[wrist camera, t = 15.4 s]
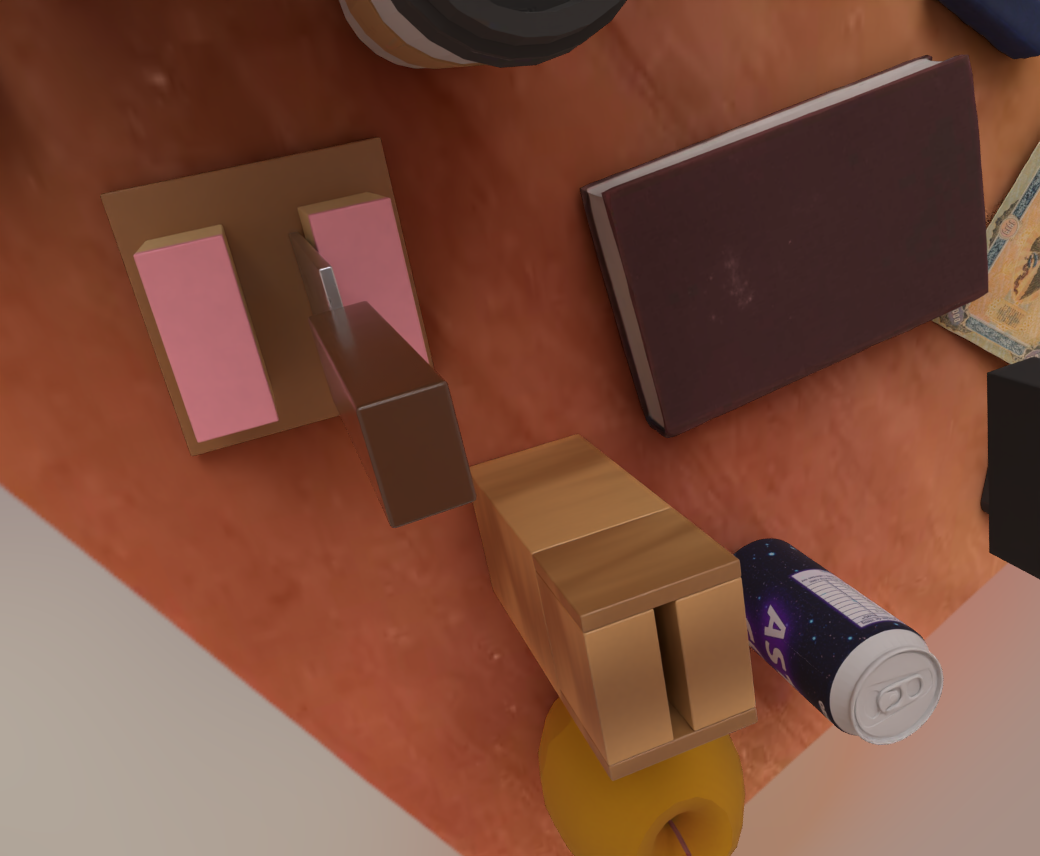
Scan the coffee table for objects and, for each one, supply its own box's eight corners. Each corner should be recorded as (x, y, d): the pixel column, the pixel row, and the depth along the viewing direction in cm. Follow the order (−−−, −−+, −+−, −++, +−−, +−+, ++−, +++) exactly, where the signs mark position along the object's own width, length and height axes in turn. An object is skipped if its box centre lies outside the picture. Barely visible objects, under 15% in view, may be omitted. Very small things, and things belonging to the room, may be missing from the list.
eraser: (1065, 16, 43) (976, -63, 40) (1042, 60, 43) (951, -16, 41) (1028, 22, 45) (941, -53, 42) (1006, 64, 45) (918, -9, 43)
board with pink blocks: (102, 193, 34) (80, 201, 29) (376, 137, 37) (404, 134, 31) (191, 450, 38) (187, 500, 33) (434, 382, 41) (467, 418, 35)
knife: (271, 238, 36) (336, 347, 16) (314, 227, 36) (431, 319, 16) (307, 353, 37) (408, 583, 17) (348, 342, 38) (492, 553, 18)
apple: (692, 635, 50) (820, 767, 39) (643, 782, 52) (752, 946, 41) (535, 620, 46) (629, 760, 35) (488, 779, 48) (565, 956, 37)
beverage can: (698, 553, 48) (838, 670, 37) (787, 517, 49) (947, 621, 38) (714, 637, 50) (850, 772, 39) (798, 601, 51) (954, 722, 41)
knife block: (464, 467, 42) (580, 616, 29) (578, 432, 44) (740, 559, 30) (492, 591, 45) (612, 782, 31) (600, 554, 46) (759, 722, 33)
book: (950, 290, 48) (998, 298, 45) (643, 427, 45) (673, 446, 42) (920, 54, 44) (971, 47, 41) (575, 186, 40) (603, 188, 37)
